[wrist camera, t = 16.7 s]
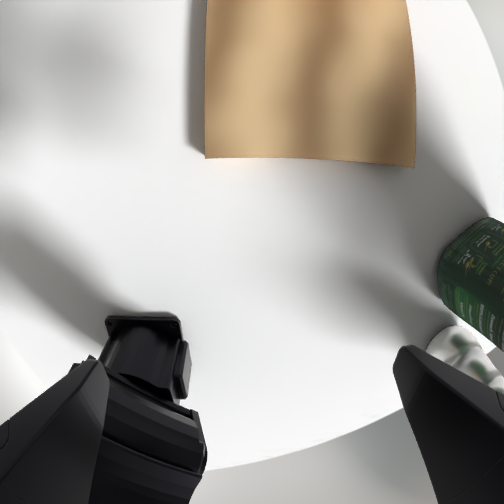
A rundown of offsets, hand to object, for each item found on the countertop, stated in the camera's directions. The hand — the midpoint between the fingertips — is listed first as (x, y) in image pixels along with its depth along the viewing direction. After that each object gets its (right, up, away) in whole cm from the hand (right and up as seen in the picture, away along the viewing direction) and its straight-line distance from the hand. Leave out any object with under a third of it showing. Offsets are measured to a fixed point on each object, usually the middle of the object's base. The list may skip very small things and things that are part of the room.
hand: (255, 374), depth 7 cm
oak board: (+4, +20, +6) cm, 21 cm away
